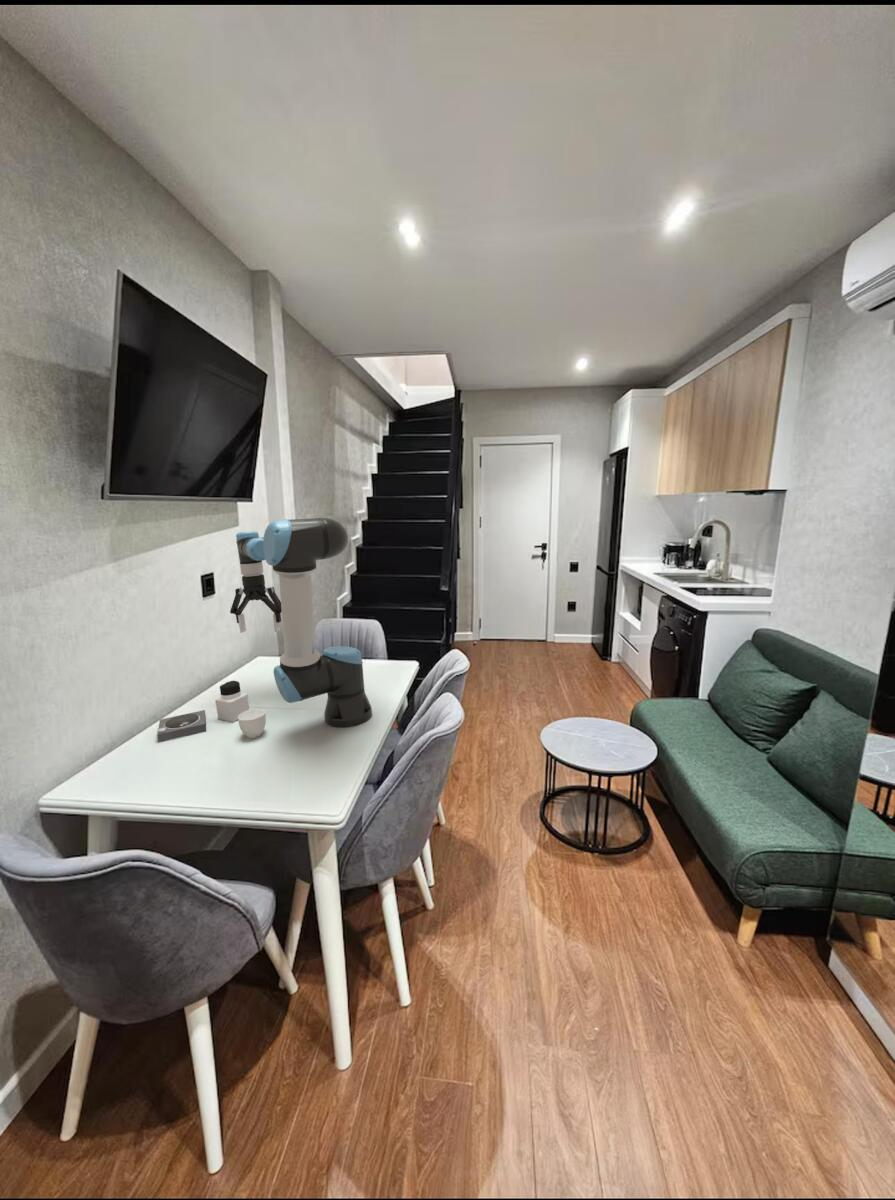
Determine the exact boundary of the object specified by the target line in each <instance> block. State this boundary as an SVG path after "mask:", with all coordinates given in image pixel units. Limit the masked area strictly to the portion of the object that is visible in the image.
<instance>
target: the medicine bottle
mask: <svg viewBox="0 0 895 1200" xmlns="http://www.w3.org/2000/svg"><path fill="white" fill-rule="evenodd" d="M219 691H220V696H219V697H218V698H216V699H215V707H216V713H217V719H218V720H221V721H227V722H231V723H234V722H236V721H238V716H239V715H240V714H241V713H243V712H245V711H248V710H250V705H249V704H250V703H249V697H248V693H243V692H241V691H242V690H241V685H240V682H239V681H238V680H228V681H225V682H223V683H221V684H220V685H219Z"/></svg>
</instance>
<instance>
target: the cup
mask: <svg viewBox="0 0 895 1200" xmlns="http://www.w3.org/2000/svg"><path fill="white" fill-rule="evenodd" d="M237 721H238V725H239V726H238V727H239V728H240V730H241V732H242V734H244V735H245V736H246V737H247V738H249V739H253V738H258V737H260V736H261V735H262V734H263V732H264V730H265V727H266V725H267V716H266V710H264V709H263V708H262V709H261V708H253V709H249V710H248V711H245V712H243V713H241V714H240V715H239V716H238V720H237Z"/></svg>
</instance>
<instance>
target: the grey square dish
mask: <svg viewBox="0 0 895 1200" xmlns="http://www.w3.org/2000/svg"><path fill="white" fill-rule="evenodd" d="M204 732H207V716H206V711H205V709H204V710H198V711H193V712H188V713H185V714H179V715H176V716H170V717H166V718H161V719H160V720H159V723H158V729H157V734H156V735H157V741H158V743H161V741H162V742H166V741H169V740H173V739H179V738H183V737H187V736H191V735H192V736H193V735H196V734H200V733H204ZM165 740H166V741H165Z"/></svg>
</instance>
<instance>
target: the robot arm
mask: <svg viewBox="0 0 895 1200" xmlns="http://www.w3.org/2000/svg"><path fill="white" fill-rule="evenodd" d="M235 537H236V541H235V543H236V545H237V551H238V552H237V554H238V561H239V568H240V575H242V576H241V582H242V586H243V588H242V587H238V588H235V590H234V591H235V594H234V599H233V601H232V605H231V607H230V610H229V611H230V612H229V613H230V614H233V615H235V618H236V623H237V624H238V627H239V633H240V634H241V633H244V632H246V631H247V628H246V626H247V625H246V620H245V619H246V618H245V614H244V613H243V611H244V610H245V609H246V607H247V605H248V604H249V602H250V601H259V600H260V601H261V602H263V603H264V605H266V606H267V607H268V609H270V610H271V611H272V613H273V614H272V618H273V619H272V620H273V629H274V633H278V632H279V631H281V627H280V626H281V625H280V622H281V623H282V633H283V634H282V635H283V646H284V647H283V649H284V653H283V654H281V656H280V657H279V665H276V666H274V668H273V677H274V681H275V683H276V686H277V689H278V692H279V693H280V696H281V697H282V699H283V700H284V701H285V702H286V703H290V704H292V703H297V702H302V701H304V700H307V699H308V700H309V699H311V698H314V697H318V696H321V695H325V694H327V701H326V704H325V709H324V713H323V715H324V721H325V723H326V724H327V725H329V726H331V727H336V728H347V727H353V726H358V725H360V724H363V723H365V722H367V721H368V720H370V719H371V718H372V715H373V710H372V704H371V703H370V700H369V698H368V696H367V694H366V691H365V681H364V667H363V665H364V664H363V660H362V653H361V651H360V650H359V649H358V648H355V647H351V646H343V645H342V646H341V645H340V646H329V647H326V648H324V649H323V651H322V655H321V654H320V652H318V651H317V650H316V646H315V644H316V643H315V626H314V607H313V606H314V605H313V603H314V602H313V585H312V573H313V572H314V571H316V569H317V561H319V560H328V559H332V558H334V557H336V556H339V555H341V554H342V553H343V552H344V551H345V550H346V548H347V546H348V543H349V534H348V531H347V529H346V527H345V526H344V525H343V524H342V523H340V522H339V521H337V520H335V519H332V518H327V517H316V518H296V519H287V518H286V519H283V520H282V519H281V520H275V521H271V522H270V523H269V524H268V525H267V526H266V529H264V533H263V537H260V535H259V532H258V531H255V530H254V531H239V532H237V533H236V535H235ZM263 561H265V562H266V563H267V565H269V566H271V567H272V571H273V572H274V573H276V574H277V575H278V578H279V591H280V592H279V593H280V599H279V597H278V595H277V593H276V592H275V591H276V590H275V588H274V587H273V586H269V587H266V581H265V574H263V573H264V566H263ZM243 594H244V595H245V596H244V597H243V599H242V596H243ZM267 594H268V595H267ZM269 597H270V598H269ZM241 600H242V601H241Z"/></svg>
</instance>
